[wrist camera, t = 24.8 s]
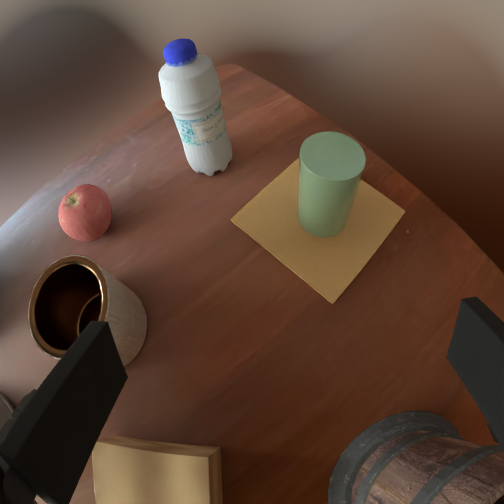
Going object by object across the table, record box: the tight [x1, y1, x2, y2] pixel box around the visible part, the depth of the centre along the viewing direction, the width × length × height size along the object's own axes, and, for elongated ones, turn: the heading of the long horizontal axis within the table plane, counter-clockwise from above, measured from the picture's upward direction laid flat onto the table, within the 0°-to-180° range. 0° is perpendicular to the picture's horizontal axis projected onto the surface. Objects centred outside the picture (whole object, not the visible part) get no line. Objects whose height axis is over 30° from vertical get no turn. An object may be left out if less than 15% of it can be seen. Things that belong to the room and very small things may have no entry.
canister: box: [297, 132, 366, 237], centre depth 34 cm, size 6×6×11 cm
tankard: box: [328, 411, 504, 504], centre depth 16 cm, size 23×17×20 cm
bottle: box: [159, 39, 232, 176], centre depth 35 cm, size 7×7×20 cm
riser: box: [92, 436, 223, 504], centre depth 24 cm, size 12×12×6 cm
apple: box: [58, 184, 112, 241], centre depth 38 cm, size 7×7×8 cm
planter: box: [28, 255, 147, 366], centre depth 31 cm, size 11×11×10 cm
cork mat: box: [230, 157, 406, 304], centre depth 39 cm, size 16×16×1 cm
